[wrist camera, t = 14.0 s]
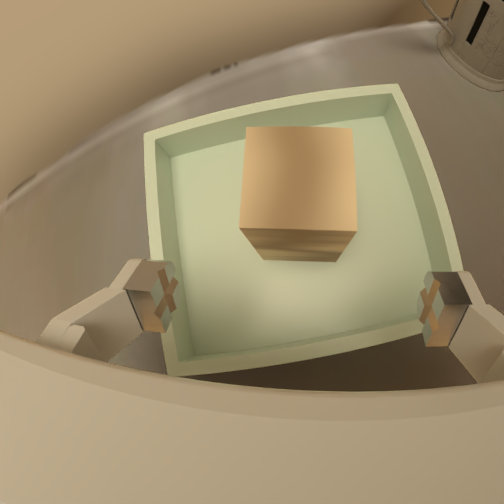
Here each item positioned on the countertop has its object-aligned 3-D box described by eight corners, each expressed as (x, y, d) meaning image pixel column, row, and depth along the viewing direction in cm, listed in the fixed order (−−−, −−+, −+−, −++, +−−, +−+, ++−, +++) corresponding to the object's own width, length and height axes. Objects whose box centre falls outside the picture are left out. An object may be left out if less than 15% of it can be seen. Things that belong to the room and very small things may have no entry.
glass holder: (523, 94, 20) (590, 1, 5) (410, 89, 21) (461, -60, 7) (484, 33, 21) (525, -60, 7) (374, 23, 23) (390, -105, 9)
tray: (387, 111, 21) (397, 83, 18) (447, 316, 18) (471, 317, 15) (163, 155, 23) (143, 133, 20) (188, 367, 20) (168, 377, 17)
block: (335, 193, 20) (351, 128, 12) (335, 262, 19) (357, 231, 12) (266, 191, 21) (246, 126, 13) (263, 259, 20) (238, 227, 12)
